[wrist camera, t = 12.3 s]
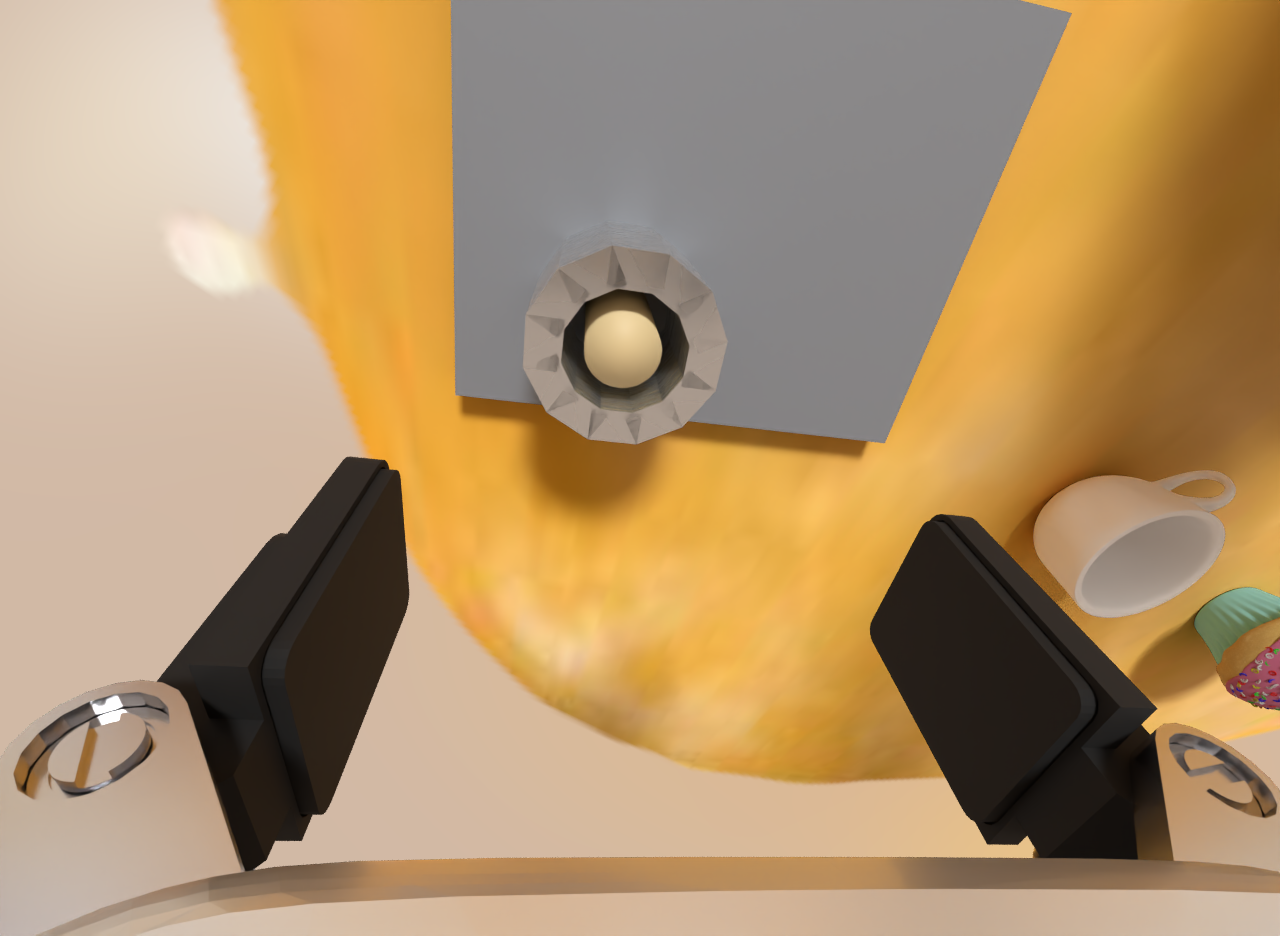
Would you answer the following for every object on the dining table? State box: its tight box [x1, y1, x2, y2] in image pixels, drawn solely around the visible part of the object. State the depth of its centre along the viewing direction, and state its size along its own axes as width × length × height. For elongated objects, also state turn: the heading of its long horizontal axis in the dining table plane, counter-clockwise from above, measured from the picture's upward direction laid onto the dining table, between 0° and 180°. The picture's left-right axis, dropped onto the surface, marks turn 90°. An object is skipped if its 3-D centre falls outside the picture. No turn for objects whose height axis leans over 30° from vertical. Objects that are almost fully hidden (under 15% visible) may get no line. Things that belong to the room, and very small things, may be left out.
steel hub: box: [523, 220, 728, 444], centre depth 22 cm, size 7×7×6 cm
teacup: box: [1033, 470, 1236, 618], centre depth 32 cm, size 10×8×5 cm
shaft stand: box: [451, 0, 1072, 443], centre depth 21 cm, size 22×18×7 cm
